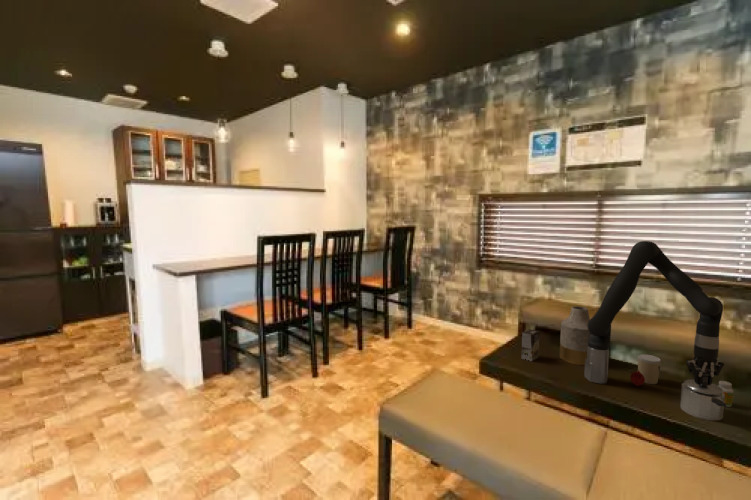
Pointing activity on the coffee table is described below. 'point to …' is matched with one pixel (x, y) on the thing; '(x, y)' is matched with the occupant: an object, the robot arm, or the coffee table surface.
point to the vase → (575, 336)
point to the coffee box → (530, 344)
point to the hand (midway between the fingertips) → (703, 384)
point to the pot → (702, 404)
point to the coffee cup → (649, 368)
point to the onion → (637, 378)
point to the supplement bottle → (727, 392)
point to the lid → (703, 386)
